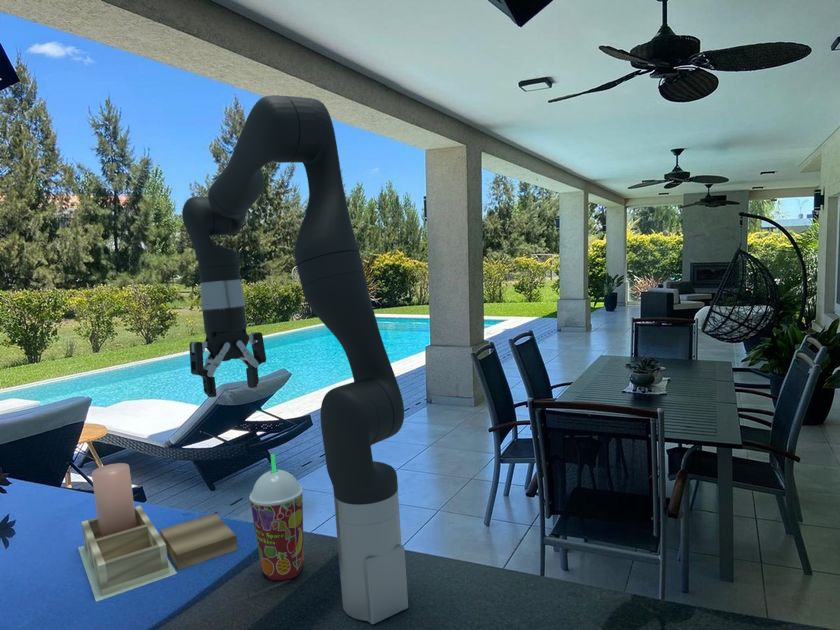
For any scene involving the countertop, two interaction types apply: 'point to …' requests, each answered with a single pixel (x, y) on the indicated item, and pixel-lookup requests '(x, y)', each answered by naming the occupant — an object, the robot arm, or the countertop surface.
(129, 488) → the pink cylinder
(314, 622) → the countertop surface
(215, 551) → the board
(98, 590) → the mat
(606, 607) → the countertop surface
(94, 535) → the caddy
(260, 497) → the smoothie
